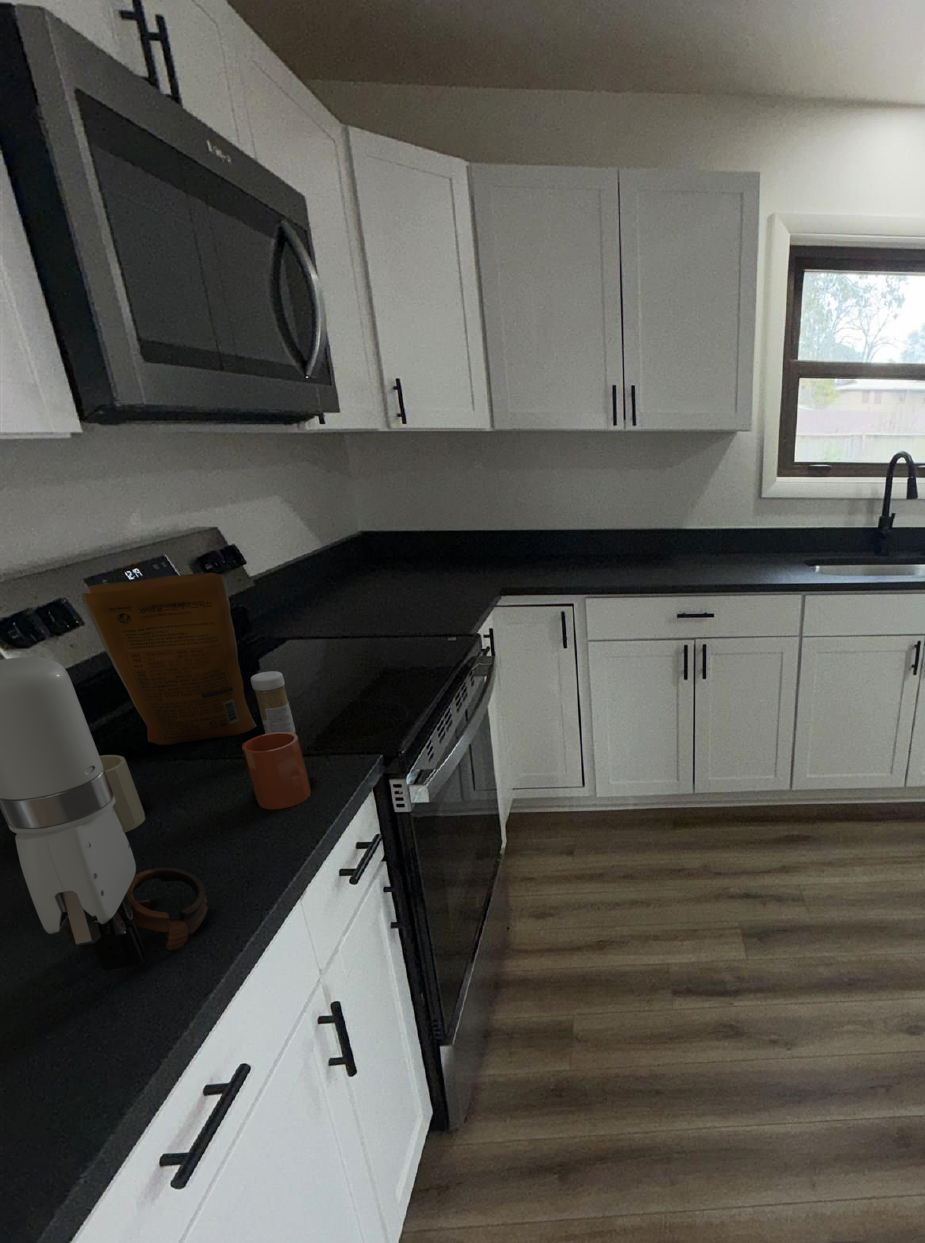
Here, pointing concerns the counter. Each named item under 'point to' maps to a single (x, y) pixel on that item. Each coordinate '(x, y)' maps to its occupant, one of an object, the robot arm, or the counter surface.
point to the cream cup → (123, 792)
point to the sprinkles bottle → (273, 702)
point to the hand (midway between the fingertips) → (125, 961)
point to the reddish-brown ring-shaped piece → (160, 920)
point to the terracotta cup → (277, 770)
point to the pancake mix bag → (174, 654)
